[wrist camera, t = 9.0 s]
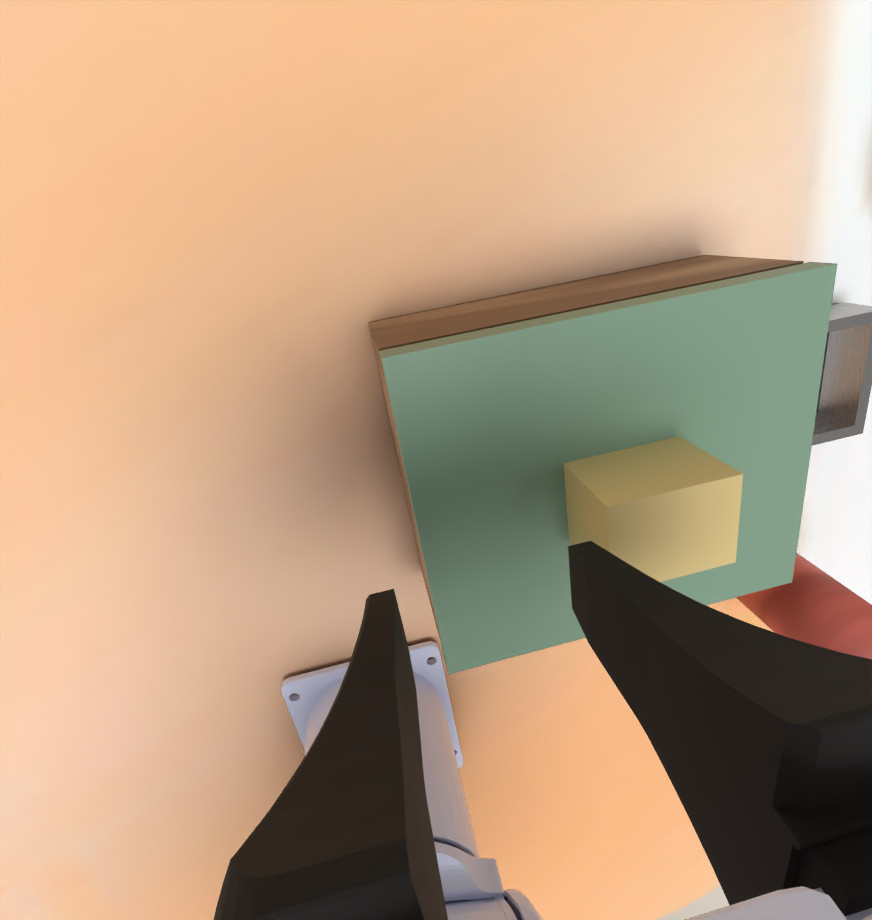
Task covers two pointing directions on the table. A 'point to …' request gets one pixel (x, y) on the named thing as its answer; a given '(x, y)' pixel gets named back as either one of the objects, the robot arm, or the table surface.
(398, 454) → the wooden box
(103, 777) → the table surface
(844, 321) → the key socket
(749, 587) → the lid
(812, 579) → the key peg
